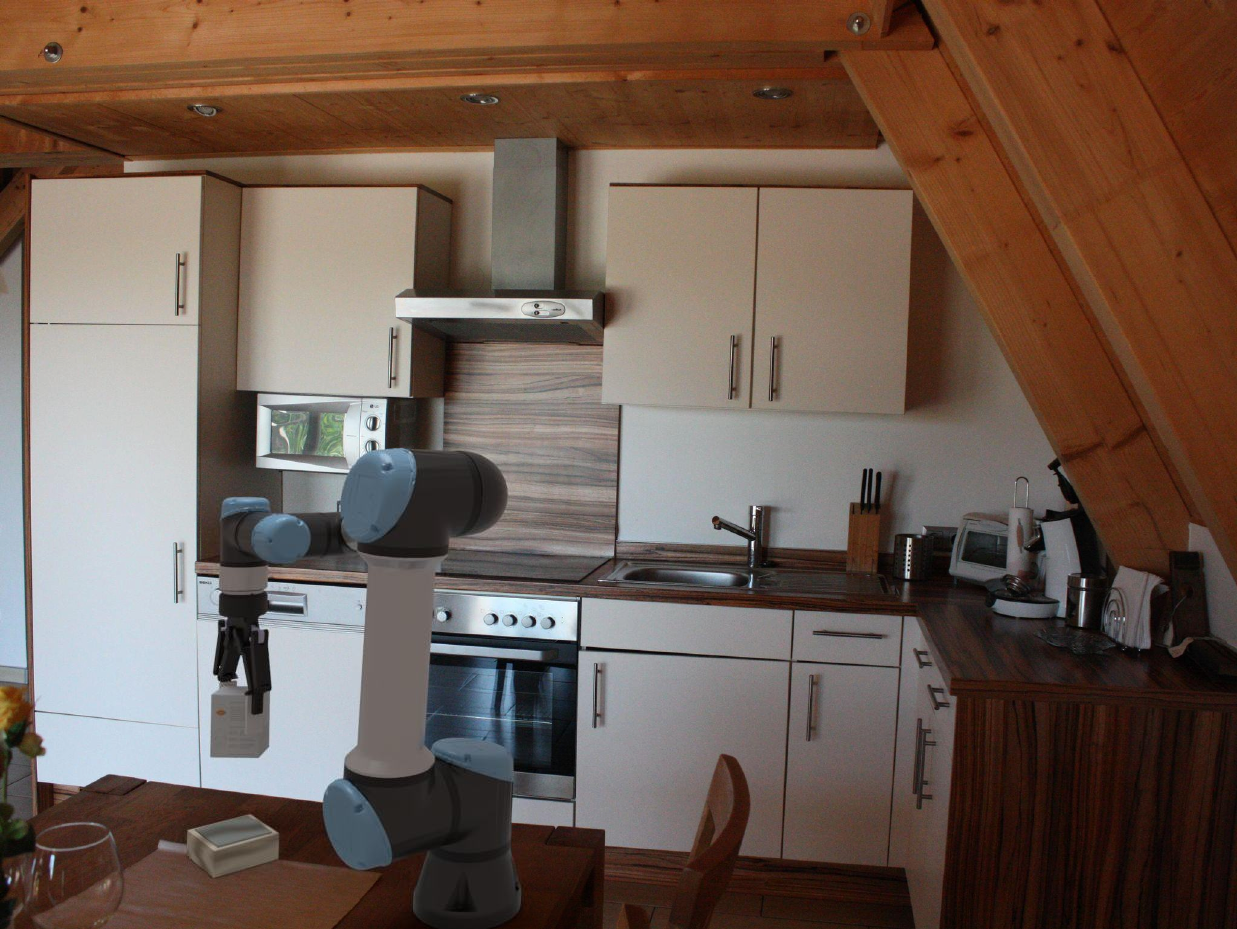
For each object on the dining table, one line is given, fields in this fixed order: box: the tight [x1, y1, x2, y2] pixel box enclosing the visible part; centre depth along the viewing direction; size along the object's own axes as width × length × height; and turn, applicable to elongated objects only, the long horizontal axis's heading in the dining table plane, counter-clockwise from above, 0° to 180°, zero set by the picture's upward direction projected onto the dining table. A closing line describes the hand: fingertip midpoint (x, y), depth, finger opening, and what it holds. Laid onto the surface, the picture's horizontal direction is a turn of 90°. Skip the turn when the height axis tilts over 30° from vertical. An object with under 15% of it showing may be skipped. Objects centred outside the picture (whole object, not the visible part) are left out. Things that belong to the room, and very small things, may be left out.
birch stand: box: [186, 813, 280, 879], centre depth 149 cm, size 10×10×4 cm
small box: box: [209, 685, 271, 759], centre depth 159 cm, size 8×6×10 cm
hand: (240, 726), depth 159 cm, fingers closed on small box, 9 cm apart
